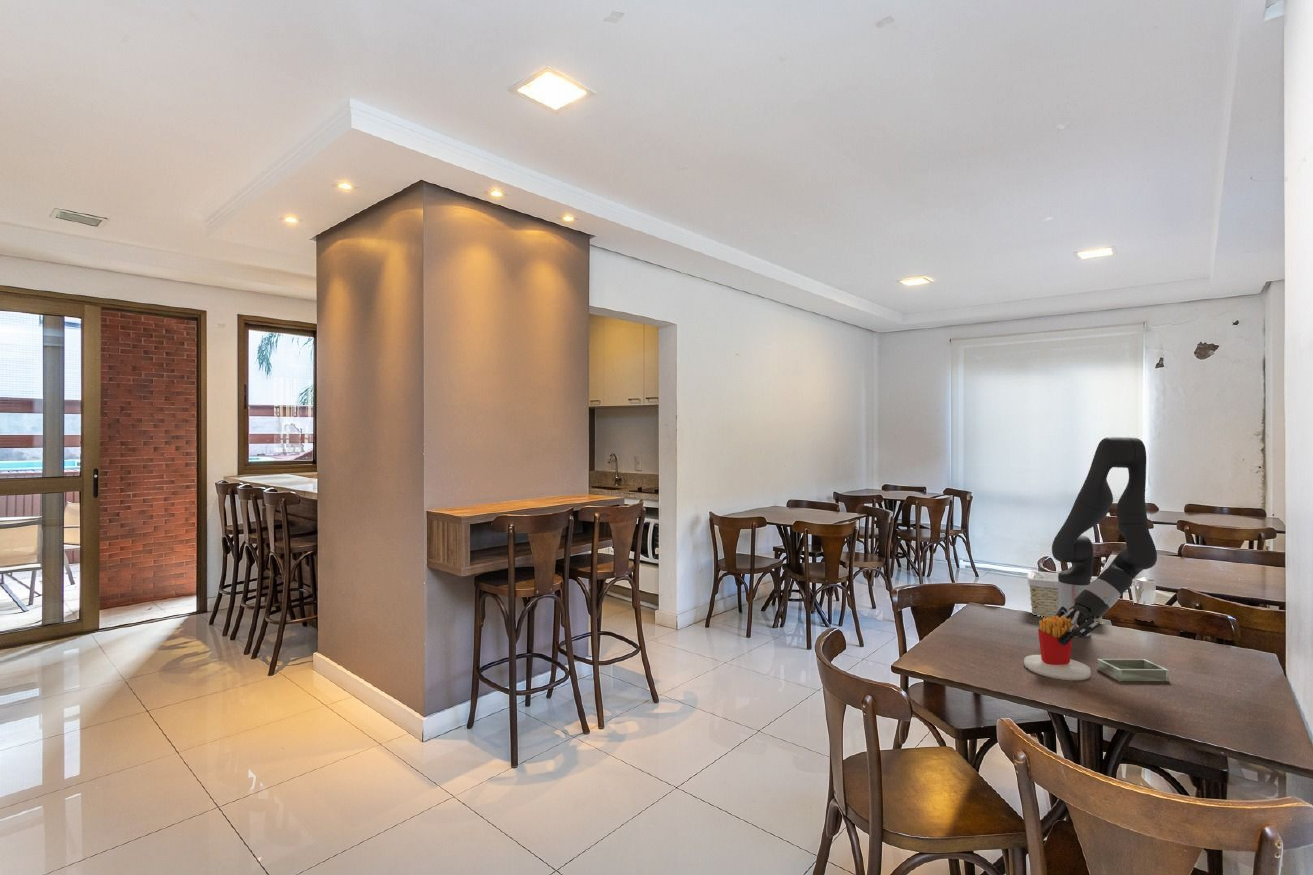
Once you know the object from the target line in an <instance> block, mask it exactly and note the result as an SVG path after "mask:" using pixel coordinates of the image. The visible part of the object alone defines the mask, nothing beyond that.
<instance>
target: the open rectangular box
mask: <svg viewBox="0 0 1313 875" xmlns="http://www.w3.org/2000/svg"><path fill="white" fill-rule="evenodd" d="M1096 670H1098V671H1099V672H1101V673H1103V674H1105V675H1107V676H1109V677H1110V678H1112V679H1114V680H1116V681H1118V682H1170V670H1169V669H1167V668H1165V667H1164V666H1161V665H1158V664H1156V663H1154V662H1152V661H1149V660H1148V659H1145V658H1096Z"/></svg>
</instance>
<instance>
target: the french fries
mask: <svg viewBox="0 0 1313 875" xmlns="http://www.w3.org/2000/svg"><path fill="white" fill-rule="evenodd" d="M1071 621H1072V620H1071V618H1068V619H1067V618H1066V617H1060V618H1059V617H1058V616H1056V617H1054V616H1052V618H1048V617H1046V618H1045V617H1043V618H1042V619H1040V620H1039V621H1038V623H1039V628H1038V629H1037V631H1038V633H1037V634H1038V640H1039V642H1038V643H1039V649H1040V650H1039V651H1040V655H1041V659H1042V661H1043V662H1045V663H1046V664H1050V665H1062V664H1068V663H1070V659H1071V655H1072V650H1073V649H1072V648H1073V640H1074V638H1073V639H1072V640H1071V641H1070V642H1069V643H1068V644H1066V645H1065V646H1064V645H1062V644H1061V643H1060V642H1059V641H1058V639H1059V638H1060V637H1061V636H1062V635H1063V634H1064V633H1065V632H1066V631H1068V629H1069V628H1070V626H1071V624H1070V623H1071ZM1068 632H1069V631H1068Z"/></svg>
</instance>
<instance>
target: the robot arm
mask: <svg viewBox="0 0 1313 875" xmlns="http://www.w3.org/2000/svg"><path fill="white" fill-rule="evenodd" d="M1113 468H1119V469H1120V468H1122V469H1127V470H1128V482H1127V484H1126V487H1125V489H1124V490H1123V492H1122V493H1121V496H1120V497H1119V499H1118V502H1117V504H1116V520H1117V526H1118V532H1119V534H1120V535H1121V536H1122V537H1124V541H1125V545H1126V547H1125V548H1123V549H1122V550H1121V551H1120V552H1119V553H1118V554H1117V555H1116V556H1115V557H1114V559H1113V560H1112V561H1111V562H1110V564H1109V566H1108V567H1107V568H1105V569H1104V570H1103V571H1101V573H1100V574H1099V575H1098V576H1096V577H1097V578H1096V579H1095V580H1094V581H1093V582H1091V577H1093V572H1094V571H1093V570H1094V569H1093V568H1094V567H1093V565H1094V546H1093V543H1092V540H1091V539H1090V538H1089V537H1088V536H1086V535H1083V534H1084V533H1085V532H1087V531H1088V530H1090V529H1092V528H1093V527H1095V526H1096V525H1098V524H1100V523H1101V522H1102V521H1103V520H1104V519H1105V518H1106V516H1107V515H1108V513H1109V511H1110V509H1111V507H1112V505H1113V503H1114V495H1113V492H1112V489H1111V488H1110V485H1109V482H1108V479H1107V478H1108V475H1109V472H1110V471H1111V470H1112V469H1113ZM1146 483H1147V449H1146V446H1145V444H1144V442H1143V441H1142V440H1141V439H1140V438H1137V437H1127V436H1126V437H1122V436H1108V437H1104V438H1102V439H1101V440H1100V441H1099V443H1098V444H1097V447H1096V450H1095V453H1094V455H1093V459H1092V461H1091V464H1090V468H1089V469H1088V473H1087V475H1086V478H1085V480H1084V482H1083V485H1082V486H1081V488H1080V490H1079V492H1078V494H1077V496H1076V499H1075V500H1074V502H1073V504H1072V508H1071V509H1070V511H1069V514H1068V516H1067V518H1066V520H1064V523H1063V525H1062V526H1061V528H1060V529H1059V530H1058V532H1057V533H1056V535H1055V536H1054V539H1053V540H1052V544H1051V545H1052V546H1051V554H1052V556H1053V558H1054V559H1055V560H1056V561H1058V562H1061V563H1071V564H1072V566H1071V567H1069V568H1067V569H1065V570H1062V571H1060V572H1058V601H1057V614H1056V615H1055V617H1056V616H1058V617H1059V618H1060V617H1066V618H1067V619H1068V618H1071V620H1072V621H1071V623H1070V624H1071V626H1070V628H1069V629H1068V631H1069V632H1068V631H1066V632H1065V633H1064V634H1063V635H1062V636H1061V637H1060V638H1059V639H1058V641H1059V642H1060V643H1061V644H1062V645H1064V646H1065V645H1066V644H1068V643H1069V642H1070V641H1071V640H1072V639H1073V640H1074V638H1077V637H1078V638H1080V639H1082V638H1084V637H1090V636H1091V635H1092V632H1093V631H1094V630H1096V629H1097V628H1099V627H1100V625H1099V624H1098V623H1096V622H1095V621H1094V618H1095V619H1100V618H1101V617H1102V618H1103V616H1104V615H1105V613H1107V612H1108V611H1109V610H1110V609H1111V608H1112V607H1113V605H1116V603H1117V602H1118V600H1119V599H1120V597H1121V596H1122V595H1124V593H1125V592H1126V591H1127V590H1128V589H1129V588H1130V587H1132V580H1133V579H1134V578H1135V577H1138V575H1139V574H1140V573H1141V572H1142V571H1144V570H1148V569H1151V568H1153V567H1154V566H1155V565H1156V563H1157V561H1158V554H1157V553H1158V552H1157V548H1156V545H1155V543H1154V539H1153V537H1152V535H1151V532H1150V530H1149V528H1150V527H1149V526H1150V525H1149V520H1148V514H1147V508H1146V507H1147V506H1146ZM1073 640H1072V641H1073Z"/></svg>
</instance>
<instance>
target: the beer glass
mask: <svg viewBox="0 0 1313 875" xmlns="http://www.w3.org/2000/svg"><path fill="white" fill-rule="evenodd" d="M1130 587H1131V590H1130V591H1131V598H1132V602H1134V603H1143V604H1154V605H1155V602H1156V592H1157V591H1156V589H1157V588H1156V580H1155V579H1153V578H1149V577H1140V576H1139V577H1138V576H1136V577H1135V578H1134V579H1133V580H1132V584H1131V586H1130ZM1134 603H1133V604H1134Z"/></svg>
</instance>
